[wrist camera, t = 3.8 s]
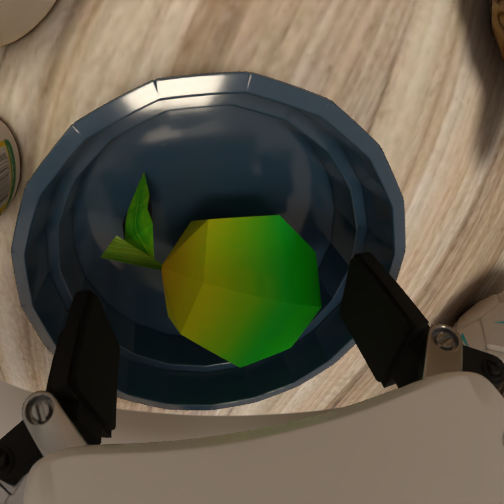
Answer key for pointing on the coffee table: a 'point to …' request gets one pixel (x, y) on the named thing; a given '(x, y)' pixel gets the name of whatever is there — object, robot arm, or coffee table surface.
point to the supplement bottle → (8, 167)
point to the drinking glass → (20, 17)
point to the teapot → (497, 23)
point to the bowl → (202, 208)
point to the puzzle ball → (484, 326)
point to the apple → (229, 280)
